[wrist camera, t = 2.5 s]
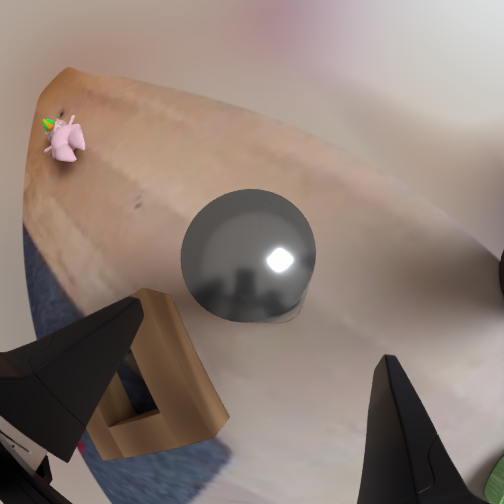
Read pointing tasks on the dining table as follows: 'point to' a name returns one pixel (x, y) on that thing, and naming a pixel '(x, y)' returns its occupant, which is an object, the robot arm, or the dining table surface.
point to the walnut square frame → (159, 391)
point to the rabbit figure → (63, 138)
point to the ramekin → (496, 484)
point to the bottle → (502, 271)
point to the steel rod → (249, 257)
